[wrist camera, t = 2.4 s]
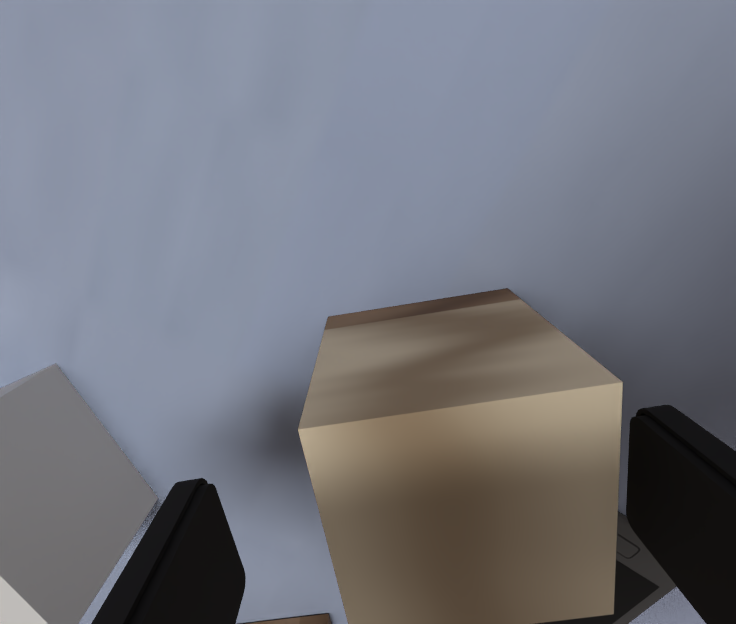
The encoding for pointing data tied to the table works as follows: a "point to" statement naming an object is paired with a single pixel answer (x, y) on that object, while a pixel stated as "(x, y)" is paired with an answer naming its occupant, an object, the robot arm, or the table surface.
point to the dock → (300, 620)
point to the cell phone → (631, 580)
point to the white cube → (60, 501)
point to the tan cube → (464, 464)
